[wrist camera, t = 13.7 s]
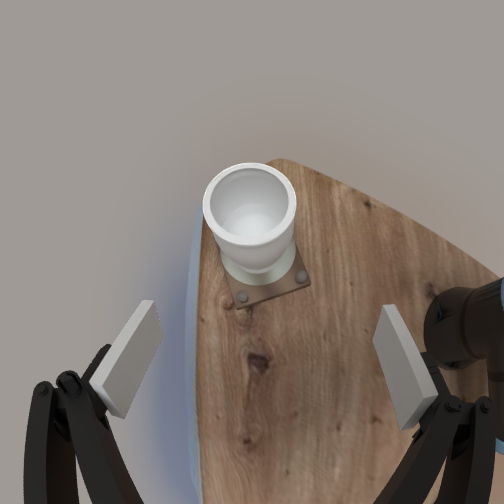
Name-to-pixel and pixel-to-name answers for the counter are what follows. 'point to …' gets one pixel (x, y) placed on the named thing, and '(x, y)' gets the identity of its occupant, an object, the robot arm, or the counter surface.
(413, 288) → the counter surface
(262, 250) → the jar
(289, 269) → the seat board
